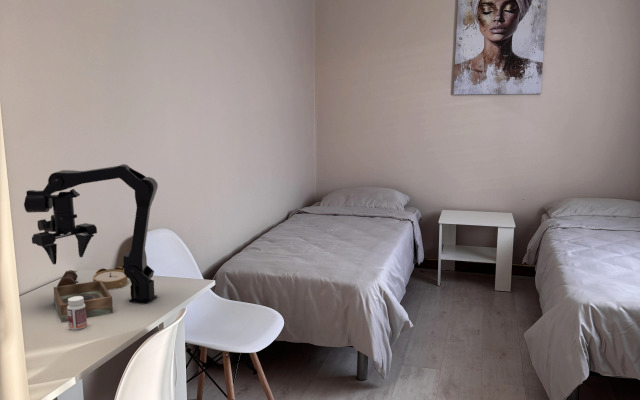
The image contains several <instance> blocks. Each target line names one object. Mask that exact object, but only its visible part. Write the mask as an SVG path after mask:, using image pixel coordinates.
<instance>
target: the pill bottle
mask: <svg viewBox="0 0 640 400" xmlns="http://www.w3.org/2000/svg"><path fill="white" fill-rule="evenodd" d="M67 314H68V321H67V323H68V324H67V325H68V326H67V327H68V329H69V330H75V331H77V330H82V329H84V328H85V327H87V325H88V322H87V318H86V305H85V304H84V297H82V296H75V297H71V298H69V299H68V306H67Z"/></svg>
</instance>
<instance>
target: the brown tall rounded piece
mask: <svg viewBox="0 0 640 400" xmlns="http://www.w3.org/2000/svg"><path fill="white" fill-rule="evenodd" d="M77 279H78V274H77V272H76V271H74V270H71V269H70V270H65V272H64V274H63V276H62V277H61V278H60V280H59V282H58V284H57V285H56V287H59V286H66V285H73V284H77V282H76V281H77Z"/></svg>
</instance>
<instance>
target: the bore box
mask: <svg viewBox="0 0 640 400" xmlns="http://www.w3.org/2000/svg"><path fill="white" fill-rule="evenodd" d="M75 296H82V297H84V304H85V305H86V319H87V318H93V317H98V316H102V315H108V314H113V313H114V309H113V297H112V295H111V294H110V292H109V290H107V289H106V287H105V286H104V284H103V283H102V281H101V280H100V281H87V282H82V283H81V282H80V283H76V284H73V285H66V286H59V287H57V286H54V287H53V297H54V304H55V307H56V308H55V309H56V310H57V313H58V315H59V318H60V321H61V323H65V322H68V314H67V306H68V299H69V298H71V297H75Z"/></svg>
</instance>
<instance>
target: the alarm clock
mask: <svg viewBox="0 0 640 400" xmlns="http://www.w3.org/2000/svg"><path fill="white" fill-rule="evenodd" d="M122 267H123V266H117V267H115V268H108V269H107V268H104V267H101V268H99V269H97V270H96V272H95V274H94V275H93V276H92V280H93V281H100V280H101V281H102V283H103V284H104V286H105V287H106V289H107V290H108V291H109V290H115V289H120V288H123V287H126V285H128V283H129V281H128V279H129V278H127V277H126V275H125V274H124V269H122ZM93 281H92V282H93Z"/></svg>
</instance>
